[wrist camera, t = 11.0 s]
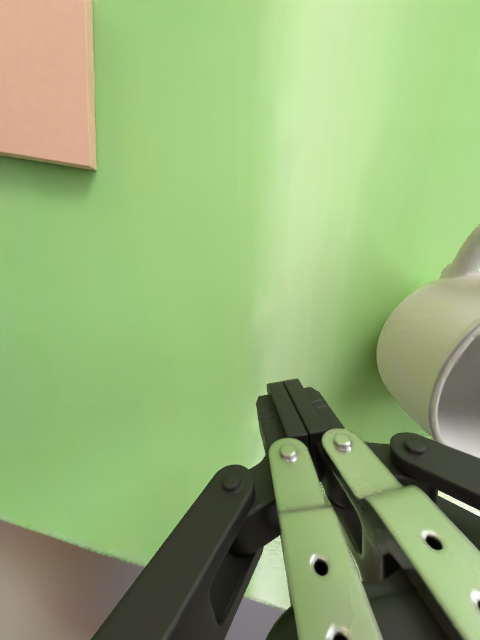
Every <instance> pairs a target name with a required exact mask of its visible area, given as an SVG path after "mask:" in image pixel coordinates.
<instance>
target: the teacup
mask: <svg viewBox="0 0 480 640" xmlns="http://www.w3.org/2000/svg"><path fill="white" fill-rule="evenodd" d="M479 268H480V224H479V225H478V226H477V227H476V228H475V229H474V231H473V232H472V233H471V234H470V235H469V236H468V238H467V239H466V241H465V242H464V244H463V245H462V246H461V248H460V250H459V252H458V253H457V255H456V257H455V259H454V261H453V262H452V263H451V264H449V265H447V266H446V267H445V268H444V269H443V271H442V272H441V277H440V278H439V279H438V280H435V281H433V282H431V283H428V284H426V285H424V286H422V287H420V288H419V289H417V290H416V291H414V292H413V293H411V294H410V295H409V296H407V297H406V298H405V299H404V300H403V301H402V302H401V303H400V304H399V305H398V306H397V307H396V308H395V309H394V310H393V312H392V313H391V314H390V316H389V317H388V319H387V321H386V322H385V324H384V326H383V328H382V331H381V333H380V336H379V339H378V345H377V365H378V370H379V374H380V376H381V379H382V381H383V383H384V385H385V387H386V388H387V390H388V391H389V392H390V394H391V395H392V396H393V398H394V399H395V400H396V401H397V402H398V403H399V404H400V406H401V407H402V408H403V409H404V410H405V411H406V412H407V413H408V414H409V415H410V416H411V417H412V418H413V419H414V420H415V421H416V422H417V423H418V424H419V425H420V426H421V427H422V428H423V429H424V430H425V431H426V432H427V433H428V434H429V435H430V436H431V437H432V438H433V439H434V440H435V441H436V442H439V443H441V444H444V445H447V446H449V447H452V448H454V449H457V450H460V451H462V452H465V453H468V454H470V455H473V456H475V457H478V458H480V271H479Z"/></svg>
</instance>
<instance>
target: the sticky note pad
mask: <svg viewBox="0 0 480 640" xmlns="http://www.w3.org/2000/svg"><path fill="white" fill-rule="evenodd" d="M0 155H2V156H8V157H14V158H20V159H26V160H33V161H39V162H45V163H51V164H58V165H64V166H70V167H76V168H82V169H89V170H95V171H96V170H97V165H96V123H95V82H94V40H93V1H92V0H0Z"/></svg>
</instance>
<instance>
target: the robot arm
mask: <svg viewBox="0 0 480 640" xmlns="http://www.w3.org/2000/svg"><path fill="white" fill-rule="evenodd" d="M267 392H268V395H264V396H259V397H258V400H257V403H256V407H257V414H258V420H259V427H260V433H261V437H262V441H263V445H264V449H265V453H266V455H265V457H264V459H263V460H262V461H261V462H260V463H259V464H258V465H256V466H255V467H253V468H251V469H249V470H248V469H247V468H245V467H244V466H241V465H229V466H226V467H224V468H222V469H221V470H219V471H218V472H217V473H216V474H215V475H214V477H213V478H212V479H211V481H210V482H209V483H208V485H207V486H206V487H205V489H204V490H203V491H202V493H201V494H200V495H199V497H198V498H197V499H196V501H195V502H194V503H193V505H192V506H191V507H190V509H189V510H188V511H187V513H186V514H185V515H184V517H183V518H182V519H181V521H180V522H179V523H178V525H177V526H176V527H175V529H174V530H173V531H172V533H171V534H170V535H169V536H168V538H167V539H166V540H165V542H164V543H163V544H162V546H161V547H160V548H159V550H158V551H157V552H156V554H155V555H154V556H153V558H152V559H151V560H150V562H149V563H148V564H147V566H146V567H145V568H144V570H143V571H142V572H141V574H140V575H139V576H138V578H137V579H136V580H135V582H134V583H133V584H132V586H131V587H130V588H129V590H128V591H127V592H126V594H125V595H124V596H123V598H122V599H121V600H120V602H119V603H118V604H117V606H116V607H115V608H114V609H113V611H112V612H111V613H110V615H109V616H108V617H107V619H106V620H105V621H104V623H103V624H102V625H101V627H100V628H99V630H98V631H97V632H96V633H95V635H94V636H93V637H92V639H91V640H224V639H225V637H226V634H227V632H228V630H229V628H230V625H231V623H232V621H233V619H234V616H235V614H236V612H237V609H238V607H239V605H240V603H241V600H242V598H243V596H244V593H245V591H246V589H247V587H248V584H249V582H250V580H251V577H252V575H253V573H254V570H255V568H256V566H257V564H258V561H259V559H260V557H261V554H262V552H263V547H264V546H265V545H266V544H268V543H269V542H271V541H272V540H273V539H275V538H276V537H278V536H279V535H280V537H281V544H282V550H283V557H284V563H285V569H286V576H287V583H288V589H289V596H290V603H291V606H290V607H289V608H288V609H287V610H286V611H285V612H284V613H283V614H282V615H281V617H280V618H279V619H278V620H277V621H276V623H275V624H274V625H273V627H272V629H271V631H270V632H269V634H268V636H267V638H266V640H480V517H479V516H477V515H475V514H473V513H471V512H469V511H467V510H465V509H463V508H461V507H459V506H457V505H455V504H454V503H452V502H450V501H448V500H446V499H444V498H442V497H440V496H438V490H439V491H441V492H443V493H445V494H447V495H449V496H451V497H453V498H455V499H457V500H459V501H461V502H463V503H466V504H468V505H470V506H472V507H474V508H476V509H478V510H480V458H478V457H475V456H473V455H470V454H468V453H465V452H462V451H460V450H457V449H454V448H452V447H449V446H447V445H444V444H441V443H439V442H436V441H433V440H431V439H428V438H426V437H423V436H420V435H417V434H413V433H398V434H395V435H394V436H393V437H392V438H391V440H390V444H378V443H369V442H364V441H363V440H362V439H361V438H360V437H359V436H358V435H357V434H356V433H354V432H352V431H350V430H347V429H345V428H344V427H343V425H342V424H341V422H340V421H339V419H338V418H337V417H336V415H335V414H334V412H333V411H332V410H331V408H330V407H329V406H328V404H327V403H326V401H324V398H323V397H322V396H321V394H320V393H319V392H318V391H316V390H315V389H313V388H312V387H307V388H303V386H302V385H301V383H300V381H299V380H298V379H292V380H286V381H281V382H275V383H270V384H267ZM320 482H321V483H322V485H323V487H324V489H325V496H324V493H323V490H322V487H321V485H320ZM349 549H350V550H349ZM350 551H351V552H350ZM351 553H352V555H353V557H354V559H355V561H356V563H357V565H358V568H359V571H360V574H361V578H362V581H361V579H360V576H359V574H358V571H357V568H356V566H355V563H354V560H353V558H352V555H351Z"/></svg>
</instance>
